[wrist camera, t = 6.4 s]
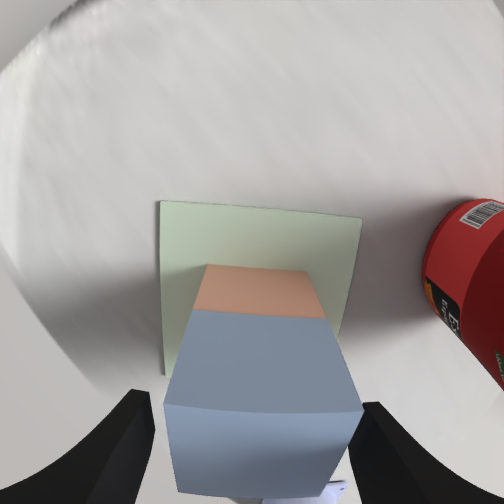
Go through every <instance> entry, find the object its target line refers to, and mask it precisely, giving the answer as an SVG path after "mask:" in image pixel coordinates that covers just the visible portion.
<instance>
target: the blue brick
mask: <svg viewBox="0 0 504 504" xmlns="http://www.w3.org/2000/svg"><path fill="white" fill-rule="evenodd" d="M163 405H164V412H165V419H166V426H167V433H168V440H169V446H170V452H171V458H172V463H173V469H174V474H175V479H176V484H177V489H178V492H181V493H188V494H196V495H205V496H216V497H228V498H248V499H290V498H310V497H320V495H321V493H322V492H323V490H324V488H325V487H326V485H327V483H328V481H329V480H330V478H331V476H332V474H333V473H334V471H335V469H336V467H337V465H338V463H339V462H340V460H341V458H342V456H343V454H344V452H345V450H346V448H347V446H348V444H349V442H350V440H351V438H352V436H353V434H354V432H355V430H356V428H357V426H358V424H359V422H360V419H361V417H362V415H363V413H364V409H363V406H362V403H361V401H360V398H359V396H358V393H357V391H356V388H355V385H354V383H353V380H352V378H351V375H350V373H349V370H348V368H347V365H346V363H345V360H344V358H343V355H342V353H341V350H340V348H339V345H338V343H337V340H336V338H335V336H334V333H333V331H332V328H331V326H330V323H329V321H328V319H320V318H299V317H281V316H265V315H251V314H238V313H225V312H214V311H203V310H193V309H192V312H191V315H190V318H189V322H188V325H187V328H186V331H185V334H184V337H183V340H182V344H181V347H180V350H179V353H178V356H177V360H176V363H175V366H174V369H173V373H172V376H171V379H170V383H169V386H168V389H167V393H166V396H165V399H164V403H163Z"/></svg>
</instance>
